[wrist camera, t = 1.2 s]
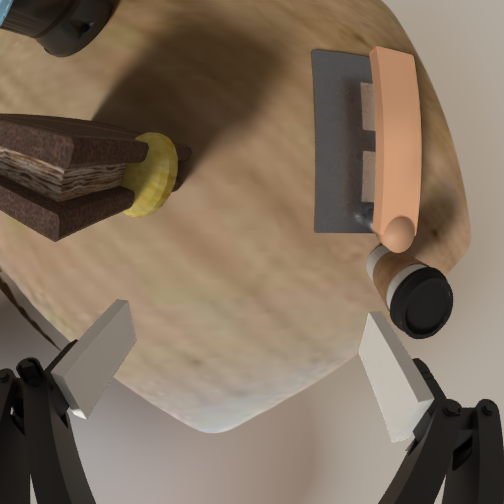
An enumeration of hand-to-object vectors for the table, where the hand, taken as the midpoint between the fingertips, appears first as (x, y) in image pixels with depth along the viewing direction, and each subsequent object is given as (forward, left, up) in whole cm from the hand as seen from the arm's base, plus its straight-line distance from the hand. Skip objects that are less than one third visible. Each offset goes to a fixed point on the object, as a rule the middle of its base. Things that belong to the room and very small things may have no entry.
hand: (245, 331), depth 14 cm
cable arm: (-11, +16, -18) cm, 27 cm away
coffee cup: (+6, +19, -26) cm, 33 cm away
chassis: (-12, +15, -25) cm, 32 cm away
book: (-11, -18, -26) cm, 33 cm away
